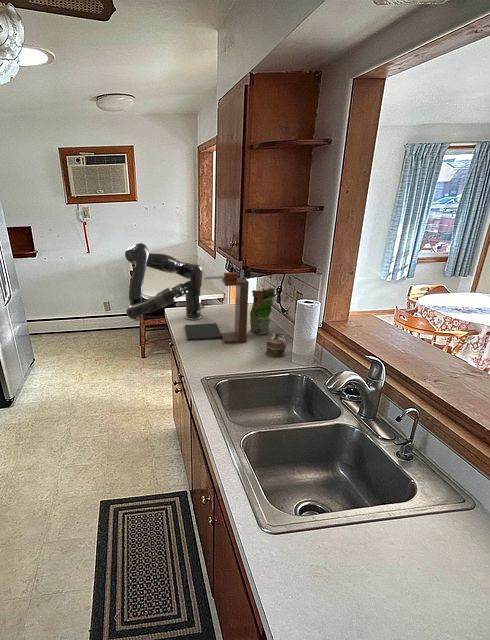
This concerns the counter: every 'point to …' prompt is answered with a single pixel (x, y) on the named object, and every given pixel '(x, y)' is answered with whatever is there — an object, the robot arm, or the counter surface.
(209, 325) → the mat
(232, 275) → the orange elongated piece
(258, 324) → the pouch
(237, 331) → the shelf
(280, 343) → the cupcake
